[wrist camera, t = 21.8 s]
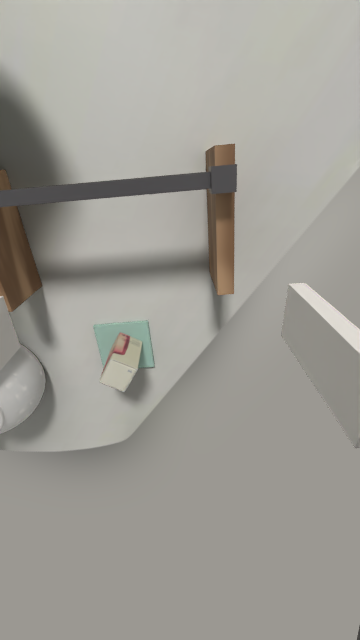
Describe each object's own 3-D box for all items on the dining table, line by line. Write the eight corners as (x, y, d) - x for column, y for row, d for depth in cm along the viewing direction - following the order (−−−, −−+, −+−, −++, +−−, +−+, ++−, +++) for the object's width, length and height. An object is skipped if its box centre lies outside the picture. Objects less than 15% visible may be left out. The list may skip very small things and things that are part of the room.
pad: (104, 368, 52) (104, 370, 51) (94, 324, 48) (93, 326, 47) (154, 364, 52) (154, 366, 51) (147, 320, 48) (147, 322, 47)
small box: (120, 330, 48) (110, 358, 41) (143, 341, 49) (138, 369, 42) (108, 353, 50) (97, 383, 43) (131, 362, 51) (124, 393, 44)
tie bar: (-41, 214, 31) (-57, 217, 29) (-51, 190, 30) (-69, 191, 28) (231, 190, 30) (236, 191, 28) (232, 164, 29) (236, 164, 27)
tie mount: (29, 286, 45) (-4, 312, 36) (-10, 171, 37) (-63, 171, 29) (222, 270, 44) (233, 293, 36) (221, 150, 37) (234, 143, 28)
